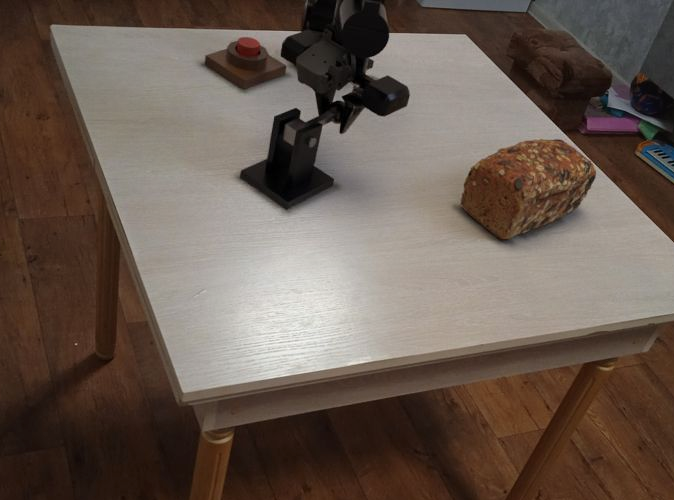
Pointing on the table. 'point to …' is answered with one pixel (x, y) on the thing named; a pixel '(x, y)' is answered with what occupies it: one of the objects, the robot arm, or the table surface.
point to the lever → (330, 116)
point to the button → (248, 46)
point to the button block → (245, 66)
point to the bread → (526, 186)
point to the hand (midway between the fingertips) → (332, 126)
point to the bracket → (290, 164)
